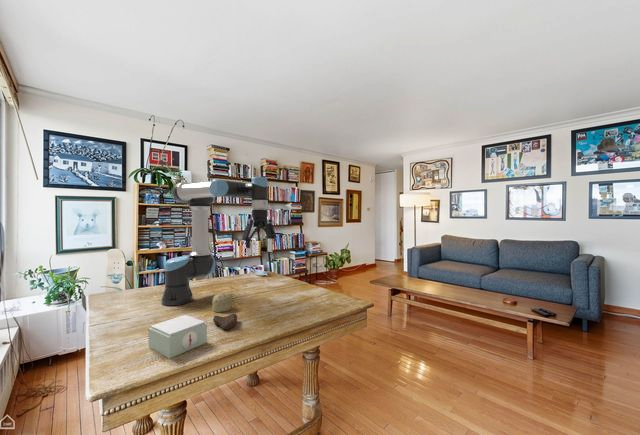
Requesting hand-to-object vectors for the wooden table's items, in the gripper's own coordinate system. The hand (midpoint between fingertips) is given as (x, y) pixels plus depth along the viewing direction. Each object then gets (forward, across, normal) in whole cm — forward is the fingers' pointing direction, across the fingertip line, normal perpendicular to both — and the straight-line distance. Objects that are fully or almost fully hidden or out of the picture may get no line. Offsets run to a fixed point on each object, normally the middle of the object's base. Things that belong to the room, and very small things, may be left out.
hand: (260, 253), depth 133 cm
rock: (+29, -22, +6) cm, 37 cm away
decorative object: (+30, -9, +19) cm, 37 cm away
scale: (+29, -39, +2) cm, 49 cm away
